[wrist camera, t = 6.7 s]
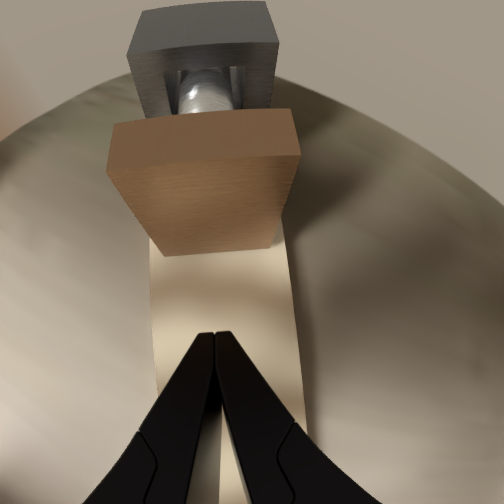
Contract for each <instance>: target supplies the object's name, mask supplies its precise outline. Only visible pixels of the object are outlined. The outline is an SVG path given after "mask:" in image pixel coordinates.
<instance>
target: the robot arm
mask: <svg viewBox="0 0 504 504" xmlns="http://www.w3.org/2000/svg"><path fill="white" fill-rule="evenodd" d="M222 407H223V412H224V417H225V421H226V425H227V429H228V433H229V437H230V441H231V445H232V449H233V453H234V457H235V461H236V465H237V468H238V472H239V476H240V479H241V483H242V486H243V490H244V493H245V497H246V500H247V504H382V503H380V502H379V501H378V500H376V499H375V498H374V497H372V496H371V495H370V494H369V493H367V492H366V491H365V490H364V489H363V488H361V487H360V486H359V485H358V484H357V483H356V482H354V481H353V480H352V479H351V478H350V477H349V476H348V475H346V474H345V473H344V472H343V471H342V470H341V469H340V468H338V467H337V466H336V465H335V464H334V463H333V462H332V461H331V460H330V459H329V458H328V457H327V456H326V455H325V454H324V453H323V452H322V451H321V450H320V449H319V448H318V447H317V446H316V444H315V443H314V442H313V441H312V440H311V439H310V437H309V436H308V435H307V434H306V433H305V431H304V430H303V429H302V428H301V426H300V425H299V424H298V423H297V422H295V419H294V417H293V416H292V415H291V414H290V412H289V411H288V410H287V408H286V407H285V406H284V404H283V403H282V402H281V400H280V399H279V398H278V396H277V395H276V394H275V392H274V391H273V389H272V388H271V387H270V385H269V384H268V383H267V381H266V380H265V379H264V377H263V376H262V374H261V373H260V372H259V370H258V369H257V367H256V366H255V365H254V363H253V362H252V360H251V359H250V358H249V356H248V355H247V353H246V352H245V350H244V349H243V348H242V346H241V345H240V343H239V342H238V340H237V339H236V337H235V336H234V335H233V333H232V332H231V331H229V330H228V331H217V332H215V334H214V332H202V333H198V334H197V336H196V337H195V339H194V341H193V342H192V344H191V345H190V347H189V349H188V350H187V352H186V353H185V355H184V357H183V358H182V360H181V361H180V363H179V365H178V366H177V368H176V369H175V371H174V373H173V374H172V376H171V378H170V379H169V381H168V382H167V384H166V386H165V387H164V389H163V390H162V392H161V394H160V395H159V397H158V398H157V400H156V402H155V403H154V405H153V406H152V408H151V410H150V411H149V413H148V414H147V416H146V418H145V419H144V421H143V422H142V424H141V426H140V427H139V431H140V432H139V431H137V432H136V433H135V435H134V437H133V438H132V440H131V442H130V443H129V445H128V446H127V448H126V449H125V451H124V452H123V454H122V455H121V457H120V458H119V460H118V461H117V462H116V463H115V465H114V466H113V467H112V469H111V470H110V471H109V472H108V474H107V475H106V476H105V477H104V479H103V480H102V481H101V482H100V483H99V485H98V486H97V487H96V488H95V489H94V490H93V492H92V493H91V494H90V495H89V496H88V498H87V499H86V500H85V501H84V502H83V503H82V504H219V489H220V461H221V437H222Z"/></svg>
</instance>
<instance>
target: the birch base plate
mask: <svg viewBox="0 0 504 504" xmlns="http://www.w3.org/2000/svg"><path fill="white" fill-rule="evenodd" d="M150 294H151V317H152V334H153V348H154V360H155V371H156V381H157V390H158V397H159V395H160V394H161V392H162V390H163V389H164V387H165V386H166V384H167V382H168V381H169V379H170V378H171V376H172V374H173V373H174V371H175V369H176V368H177V366H178V365H179V363H180V361H181V360H182V358H183V357H184V355H185V353H186V352H187V350H188V349H189V347H190V345H191V344H192V342H193V341H194V339H195V337H196V336H197V334H198V333H202V332H214V334H215V332H217V331H228V330H229V331H231V332H232V333H233V335H234V336H235V337H236V339H237V340H238V342H239V343H240V345H241V346H242V348H243V349H244V350H245V352H246V353H247V355H248V356H249V358H250V359H251V360H252V362H253V363H254V365H255V366H256V367H257V369H258V370H259V372H260V373H261V374H262V376H263V377H264V379H265V380H266V381H267V383H268V384H269V385H270V387H271V388H272V389H273V391H274V392H275V394H276V395H277V396H278V398H279V399H280V400H281V402H282V403H283V404H284V406H285V407H286V408H287V410H288V411H289V412H290V414H291V415H292V416H293V417H294V419H295V422H297V423H298V424H299V425H300V426H301V428H302V429H303V430H304V431H305V433H306V434H307V426H306V415H305V404H304V394H303V385H302V375H301V366H300V357H299V348H298V340H297V331H296V323H295V315H294V307H293V299H292V291H291V284H290V276H289V269H288V261H287V254H286V247H285V240H284V233H283V227H282V220H281V218H280V221H279V223H278V226H277V229H276V232H275V235H274V238H273V241H272V244H271V247H270V248H268V249H255V250H243V251H231V252H219V253H207V254H195V255H182V256H170V257H164V256H163V255H162V253H161V252H160V250H159V249H158V248H157V246H156V245H155V244H154V242H153V241H152V239H151V238H150ZM219 504H247V500H246V497H245V493H244V490H243V486H242V483H241V479H240V476H239V472H238V468H237V465H236V461H235V457H234V453H233V449H232V445H231V441H230V437H229V433H228V429H227V425H226V421H225V417H224V412H223V407H222V437H221V461H220V489H219Z"/></svg>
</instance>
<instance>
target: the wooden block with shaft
mask: <svg viewBox="0 0 504 504" xmlns="http://www.w3.org/2000/svg"><path fill="white" fill-rule="evenodd" d="M301 155H302V154H301V150H300V146H299V141H298V137H297V133H296V129H295V125H294V121H293V117H292V113H291V109H290V108H276V109H240V110H234V105H233V95H232V85H231V75H230V67H215V68H202V69H191V70H182V71H181V80H180V94H179V110H178V115H170V116H162V117H155V118H148V119H141V120H135V121H129V122H123V123H118V124H114V129H113V134H112V139H111V144H110V150H109V156H108V162H107V169H106V173H107V175H108V176H109V178H110V179H111V181H112V182H113V184H114V185H115V187H116V188H117V190H118V191H119V193H120V194H121V196H122V197H123V199H124V200H125V202H126V203H127V205H128V206H129V208H130V209H131V211H132V212H133V214H134V215H135V217H136V218H137V219H138V221H139V222H140V224H141V225H142V227H143V228H144V229H145V231H146V232H147V234H148V235H149V237H150V238H151V239H152V241H153V242H154V244H155V245H156V246H157V248H158V249H159V250H160V252H161V253H162V255H163V256H164V257H170V256H182V255H195V254H207V253H219V252H231V251H243V250H255V249H268V248H270V247H271V244H272V241H273V238H274V235H275V232H276V229H277V226H278V223H279V221H280V218H281V215H282V212H283V209H284V206H285V203H286V200H287V197H288V194H289V191H290V188H291V185H292V182H293V179H294V176H295V173H296V170H297V167H298V164H299V161H300V158H301Z"/></svg>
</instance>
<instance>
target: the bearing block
mask: <svg viewBox="0 0 504 504" xmlns="http://www.w3.org/2000/svg"><path fill="white" fill-rule="evenodd" d="M278 49H279V40H278V37H277V34H276V31H275V28H274V25H273V22H272V20H271V17H270V14H269V11H268V8H267V6H266V3H265V1H228V2H208V3H196V4H186V5H178V6H170V7H163V8H157V9H151V10H146V11H142V14H141V16H140V19H139V21H138V24H137V27H136V29H135V32H134V35H133V38H132V41H131V44H130V46H129V50H128V52H127V59H128V62H129V66H130V69H131V72H132V76H133V79H134V82H135V86H136V89H137V92H138V95H139V98H140V102H141V105H142V108H143V111H144V114H145V117H146V119H148V118H155V117H162V116H170V115H178V110H179V94H180V80H181V72H177V71H182V70H191V69H202V68H215V67H233V66H236V68H230V75H231V85H232V95H233V105H234V110H240V109H270V102H271V95H272V89H273V82H274V75H275V68H276V62H277V55H278Z"/></svg>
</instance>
